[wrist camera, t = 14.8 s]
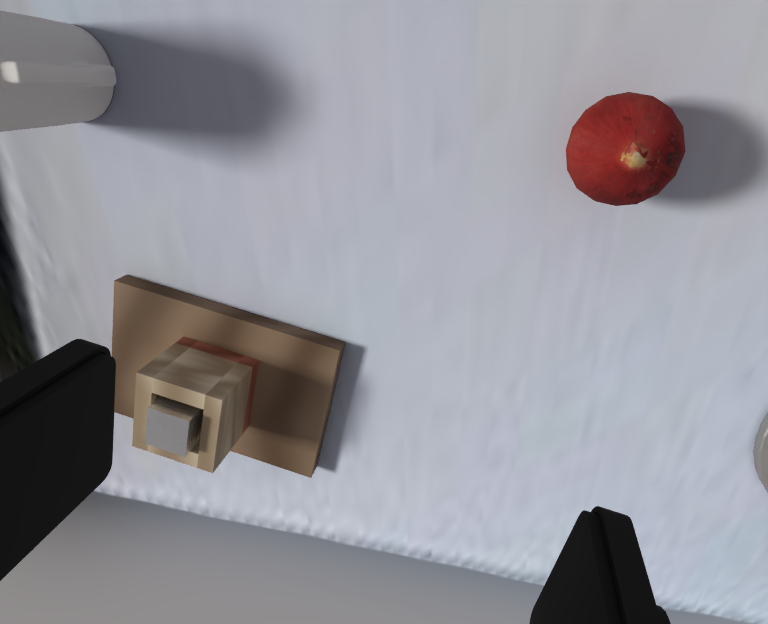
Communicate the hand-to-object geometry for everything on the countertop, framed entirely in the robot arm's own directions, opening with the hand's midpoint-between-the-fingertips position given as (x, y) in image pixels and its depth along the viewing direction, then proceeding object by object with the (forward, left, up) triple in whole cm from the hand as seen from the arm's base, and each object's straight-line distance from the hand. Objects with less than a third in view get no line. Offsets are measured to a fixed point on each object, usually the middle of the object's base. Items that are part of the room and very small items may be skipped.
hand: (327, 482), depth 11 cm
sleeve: (+14, +18, -27) cm, 35 cm away
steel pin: (+14, +18, -27) cm, 35 cm away
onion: (-8, -6, -28) cm, 30 cm away
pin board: (+14, +18, -28) cm, 36 cm away
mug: (+26, -2, -28) cm, 39 cm away
